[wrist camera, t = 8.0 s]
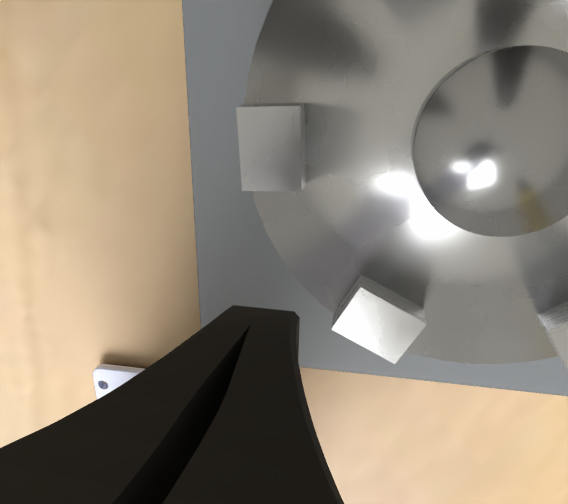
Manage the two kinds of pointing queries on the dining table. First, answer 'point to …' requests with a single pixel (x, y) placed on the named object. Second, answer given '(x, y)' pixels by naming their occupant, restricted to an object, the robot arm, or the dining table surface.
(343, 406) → the dining table surface
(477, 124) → the grey turntable disc
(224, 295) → the boss plate
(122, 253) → the dining table surface
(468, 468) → the dining table surface
